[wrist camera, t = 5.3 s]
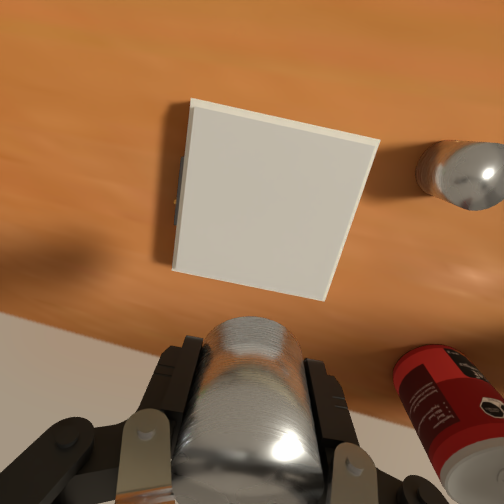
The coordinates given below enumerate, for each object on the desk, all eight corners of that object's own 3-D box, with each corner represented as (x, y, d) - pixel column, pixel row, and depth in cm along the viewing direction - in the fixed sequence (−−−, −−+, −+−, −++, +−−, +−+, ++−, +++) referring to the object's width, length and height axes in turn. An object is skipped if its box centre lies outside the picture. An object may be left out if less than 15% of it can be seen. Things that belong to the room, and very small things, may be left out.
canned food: (474, 384, 33) (565, 498, 23) (400, 405, 35) (456, 520, 25) (459, 331, 31) (555, 433, 20) (381, 356, 32) (433, 461, 22)
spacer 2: (482, 146, 24) (533, 151, 19) (456, 200, 26) (498, 216, 21) (428, 134, 24) (467, 136, 19) (406, 189, 26) (437, 203, 21)
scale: (370, 138, 24) (384, 140, 21) (320, 289, 29) (326, 306, 27) (190, 98, 24) (180, 95, 21) (172, 259, 29) (162, 273, 26)
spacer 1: (313, 326, 12) (344, 446, 8) (289, 402, 14) (302, 538, 10) (206, 308, 12) (173, 420, 8) (195, 387, 14) (162, 518, 9)
